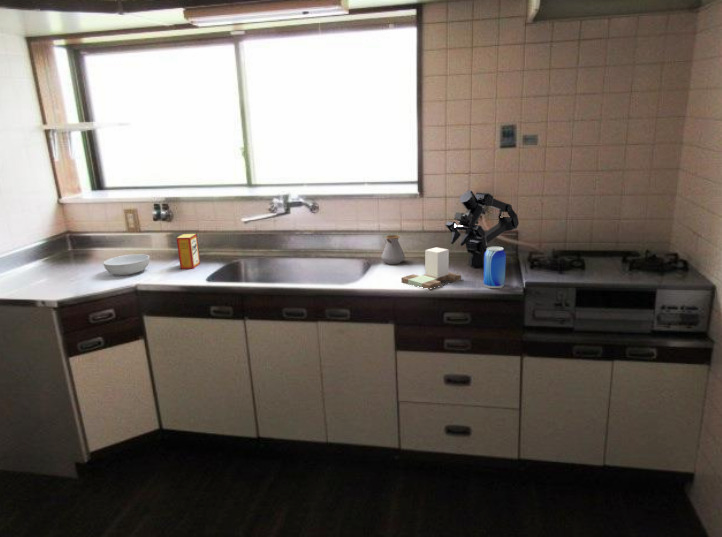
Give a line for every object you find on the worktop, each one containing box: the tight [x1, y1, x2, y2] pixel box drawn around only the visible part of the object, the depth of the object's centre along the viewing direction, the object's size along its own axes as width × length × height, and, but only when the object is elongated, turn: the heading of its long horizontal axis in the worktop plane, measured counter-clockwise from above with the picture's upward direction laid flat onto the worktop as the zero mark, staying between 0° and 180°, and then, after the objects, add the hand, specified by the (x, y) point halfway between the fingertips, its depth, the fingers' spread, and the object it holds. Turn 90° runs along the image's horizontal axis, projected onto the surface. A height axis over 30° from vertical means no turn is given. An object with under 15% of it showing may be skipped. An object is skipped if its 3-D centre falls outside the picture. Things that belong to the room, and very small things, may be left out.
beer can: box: [483, 246, 507, 289], centre depth 215 cm, size 8×8×16 cm
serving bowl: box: [102, 253, 151, 276], centre depth 259 cm, size 21×21×7 cm
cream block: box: [424, 246, 450, 278], centre depth 228 cm, size 7×7×11 cm
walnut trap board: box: [400, 271, 462, 289], centre depth 227 cm, size 20×16×2 cm
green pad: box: [407, 274, 437, 288], centre depth 224 cm, size 9×8×2 cm
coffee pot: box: [381, 234, 406, 265], centre depth 253 cm, size 21×12×15 cm, turn 168°
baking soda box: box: [176, 233, 201, 270], centre depth 264 cm, size 10×6×16 cm
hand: (456, 244), depth 234 cm, fingers open, 5 cm apart
